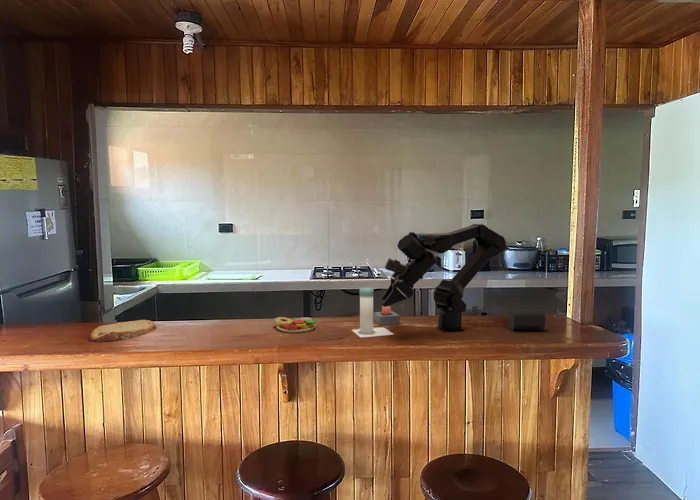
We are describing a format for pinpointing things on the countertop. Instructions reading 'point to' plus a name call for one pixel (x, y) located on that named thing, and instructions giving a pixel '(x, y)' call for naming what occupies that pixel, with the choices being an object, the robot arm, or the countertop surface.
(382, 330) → the paper
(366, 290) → the teal and white bottle
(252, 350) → the countertop surface
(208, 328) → the countertop surface
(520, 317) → the end cap
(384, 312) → the button
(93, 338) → the slice of bread
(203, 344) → the countertop surface
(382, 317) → the button housing
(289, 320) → the toy food set
